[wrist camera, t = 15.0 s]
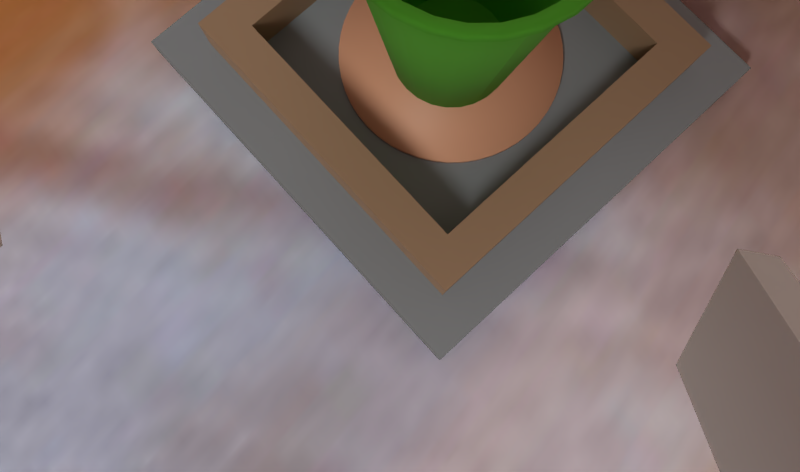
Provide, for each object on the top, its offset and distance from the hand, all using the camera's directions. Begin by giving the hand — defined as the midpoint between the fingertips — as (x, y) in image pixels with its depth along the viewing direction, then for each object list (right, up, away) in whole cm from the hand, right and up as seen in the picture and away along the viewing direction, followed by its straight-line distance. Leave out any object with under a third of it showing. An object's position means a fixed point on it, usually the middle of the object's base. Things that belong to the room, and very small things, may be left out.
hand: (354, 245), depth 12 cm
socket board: (+3, +8, +19) cm, 21 cm away
